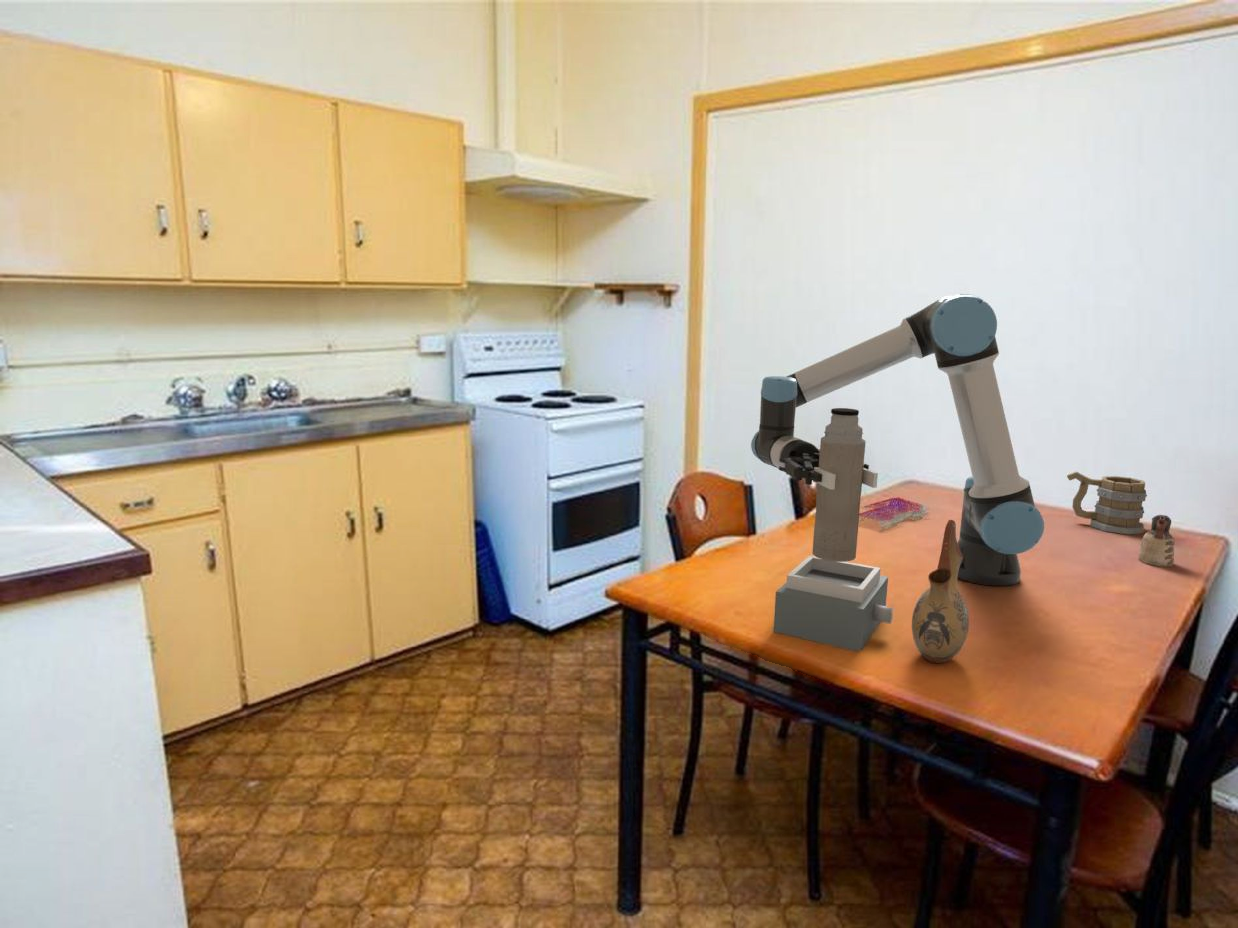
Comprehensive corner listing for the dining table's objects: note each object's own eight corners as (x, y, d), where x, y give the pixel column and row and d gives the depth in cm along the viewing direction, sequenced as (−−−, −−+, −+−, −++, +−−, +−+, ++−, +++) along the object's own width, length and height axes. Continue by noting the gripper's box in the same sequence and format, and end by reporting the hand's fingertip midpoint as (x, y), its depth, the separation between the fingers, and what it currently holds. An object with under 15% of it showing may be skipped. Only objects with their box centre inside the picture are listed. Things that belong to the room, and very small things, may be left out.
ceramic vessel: (918, 635, 145) (931, 505, 140) (971, 646, 141) (986, 513, 136) (899, 668, 132) (912, 526, 127) (956, 682, 127) (972, 535, 122)
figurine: (1175, 562, 190) (1183, 514, 188) (1170, 568, 185) (1178, 520, 183) (1141, 555, 195) (1148, 509, 193) (1135, 562, 190) (1142, 514, 188)
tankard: (1142, 526, 222) (1150, 475, 219) (1143, 537, 212) (1151, 483, 209) (1062, 515, 232) (1069, 466, 229) (1059, 525, 222) (1066, 474, 219)
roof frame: (885, 534, 212) (887, 515, 211) (837, 522, 223) (838, 504, 222) (938, 516, 232) (940, 499, 231) (892, 506, 243) (893, 490, 242)
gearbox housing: (900, 618, 153) (905, 567, 151) (877, 655, 136) (882, 599, 134) (806, 598, 163) (809, 550, 161) (773, 631, 146) (776, 578, 144)
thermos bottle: (853, 550, 151) (865, 407, 145) (857, 563, 143) (870, 412, 137) (811, 547, 152) (821, 405, 147) (813, 560, 145) (824, 410, 139)
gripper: (839, 473, 165) (902, 499, 143) (748, 476, 160) (800, 503, 138) (841, 438, 163) (906, 459, 142) (750, 440, 158) (803, 462, 137)
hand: (854, 481), depth 140 cm, fingers closed on thermos bottle, 8 cm apart
